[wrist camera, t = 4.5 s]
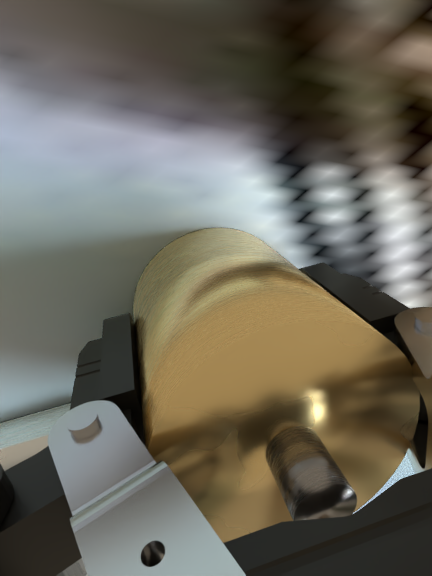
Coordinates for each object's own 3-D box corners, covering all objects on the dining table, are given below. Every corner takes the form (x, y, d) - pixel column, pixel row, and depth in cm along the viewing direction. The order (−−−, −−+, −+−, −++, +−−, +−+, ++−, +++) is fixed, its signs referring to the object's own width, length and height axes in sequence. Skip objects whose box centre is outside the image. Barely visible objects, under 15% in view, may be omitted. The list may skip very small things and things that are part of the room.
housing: (280, 210, 11) (494, 318, 5) (295, 350, 14) (459, 555, 7) (112, 250, 11) (105, 436, 4) (155, 391, 13) (194, 661, 6)
